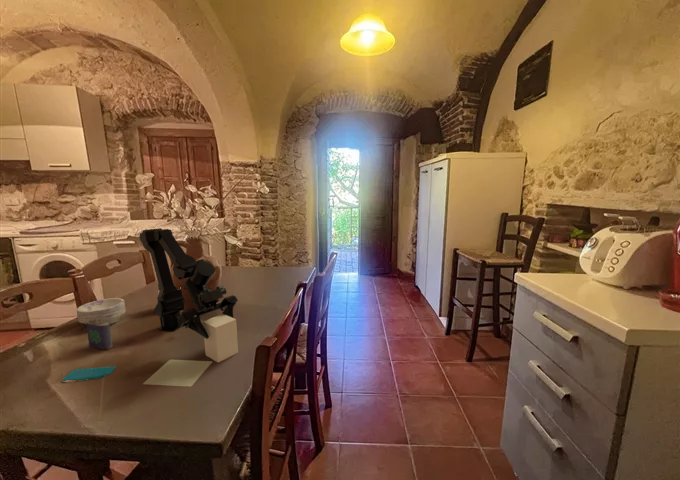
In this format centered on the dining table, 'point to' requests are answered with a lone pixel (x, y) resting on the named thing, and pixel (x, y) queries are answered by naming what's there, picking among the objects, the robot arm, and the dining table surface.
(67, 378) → the sponge
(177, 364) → the mat
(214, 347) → the upright cream box
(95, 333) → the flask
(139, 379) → the dining table surface
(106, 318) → the paper bowls
